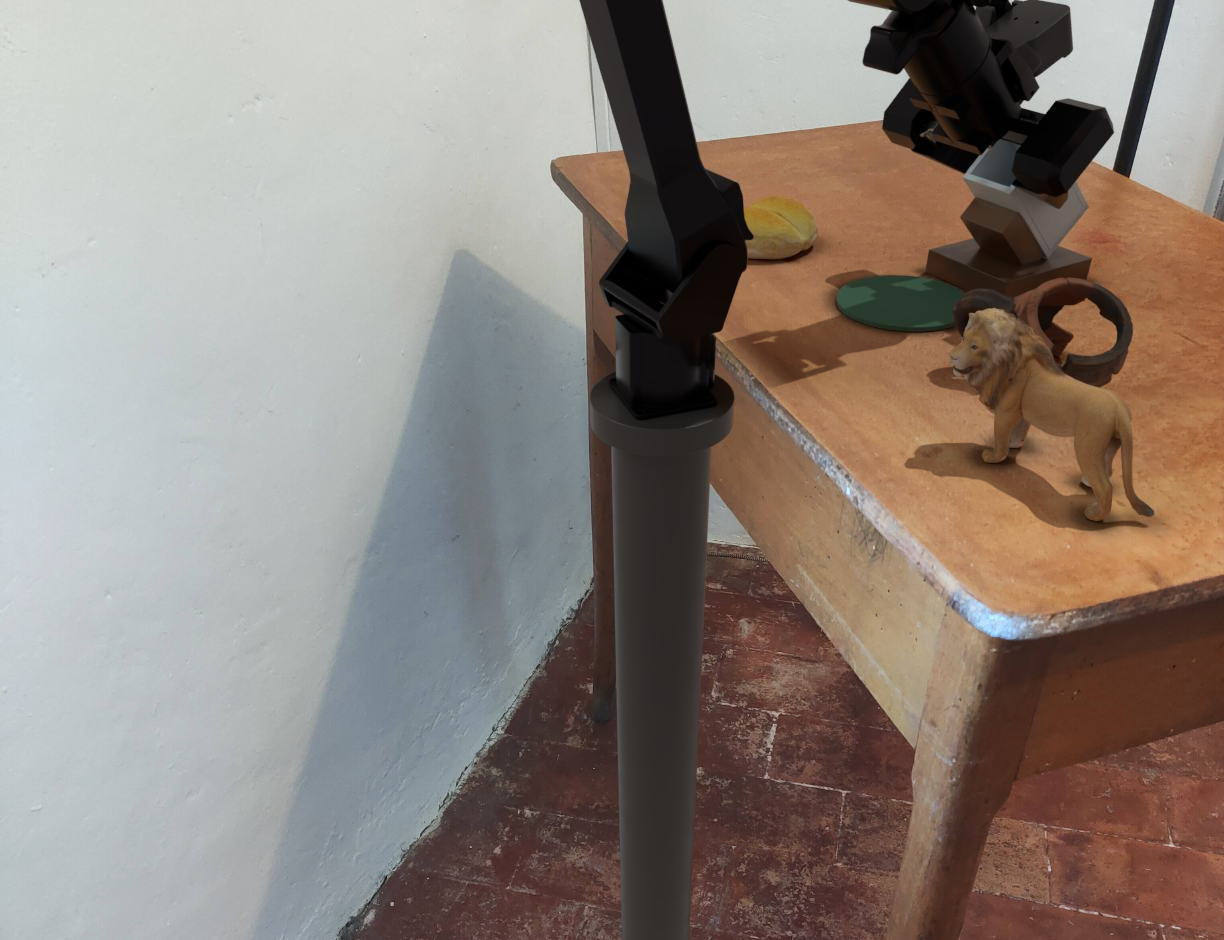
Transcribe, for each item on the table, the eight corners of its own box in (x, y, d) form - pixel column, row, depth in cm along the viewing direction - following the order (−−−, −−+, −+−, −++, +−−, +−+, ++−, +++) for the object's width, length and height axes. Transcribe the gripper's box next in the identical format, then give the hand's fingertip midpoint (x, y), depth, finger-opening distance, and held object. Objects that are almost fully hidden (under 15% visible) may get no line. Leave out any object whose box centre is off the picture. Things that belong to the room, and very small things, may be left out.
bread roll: (701, 247, 99) (702, 203, 96) (764, 224, 104) (767, 182, 101) (769, 270, 94) (772, 224, 92) (832, 245, 99) (836, 201, 96)
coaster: (880, 340, 82) (881, 336, 82) (812, 290, 90) (812, 286, 90) (1000, 319, 85) (1001, 314, 85) (924, 272, 93) (924, 267, 93)
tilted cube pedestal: (1001, 305, 87) (1019, 225, 83) (924, 271, 93) (937, 195, 89) (1086, 281, 91) (1107, 202, 87) (1007, 250, 97) (1023, 175, 93)
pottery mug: (1098, 359, 80) (1157, 288, 72) (1071, 460, 76) (1131, 397, 69) (946, 304, 81) (989, 228, 73) (913, 402, 77) (954, 333, 70)
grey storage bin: (1003, 277, 86) (1031, 147, 80) (939, 250, 92) (960, 126, 85) (1088, 254, 90) (1121, 128, 84) (1022, 229, 95) (1049, 109, 89)
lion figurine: (918, 443, 70) (942, 312, 64) (968, 418, 72) (995, 289, 67) (1127, 540, 60) (1176, 396, 55) (1175, 507, 63) (1226, 366, 57)
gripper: (1134, -23, 69) (1192, 132, 80) (932, -52, 82) (1006, 85, 93) (1020, 125, 71) (1092, 256, 82) (840, 74, 84) (923, 194, 95)
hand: (1026, 191), depth 88 cm, fingers closed on grey storage bin, 7 cm apart
